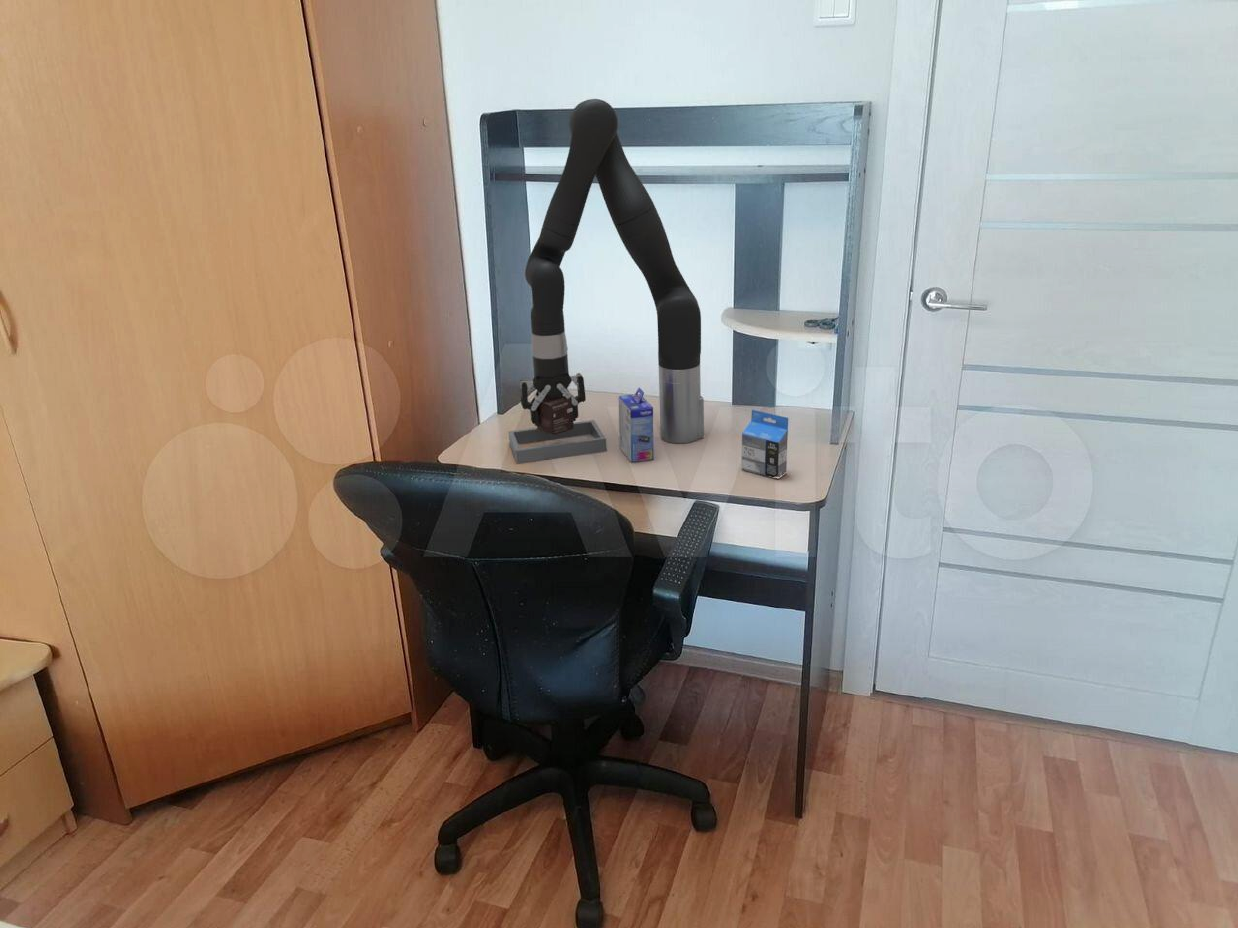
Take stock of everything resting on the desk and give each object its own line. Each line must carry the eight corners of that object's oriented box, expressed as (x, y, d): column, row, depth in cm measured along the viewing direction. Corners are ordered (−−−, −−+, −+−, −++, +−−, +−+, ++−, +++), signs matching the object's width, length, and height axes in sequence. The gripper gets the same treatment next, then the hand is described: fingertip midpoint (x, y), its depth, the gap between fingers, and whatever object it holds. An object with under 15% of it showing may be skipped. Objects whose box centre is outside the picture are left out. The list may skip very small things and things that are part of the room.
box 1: (552, 436, 199) (550, 405, 196) (536, 429, 203) (533, 398, 200) (574, 429, 202) (572, 398, 199) (558, 422, 206) (556, 391, 203)
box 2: (594, 431, 211) (593, 419, 210) (606, 451, 201) (606, 438, 200) (509, 443, 207) (508, 431, 206) (517, 463, 197) (516, 451, 195)
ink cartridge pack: (740, 470, 188) (740, 414, 183) (750, 463, 191) (751, 409, 186) (777, 480, 183) (779, 423, 178) (787, 473, 186) (789, 417, 181)
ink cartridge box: (655, 460, 195) (653, 396, 189) (631, 463, 194) (628, 400, 188) (642, 443, 204) (640, 382, 198) (618, 447, 203) (615, 385, 197)
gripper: (578, 344, 200) (582, 413, 207) (514, 351, 197) (520, 420, 204) (585, 353, 193) (589, 424, 200) (519, 360, 190) (525, 432, 197)
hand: (554, 422), depth 202 cm, fingers closed on box 1, 8 cm apart
